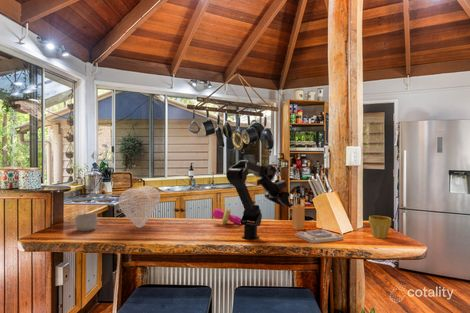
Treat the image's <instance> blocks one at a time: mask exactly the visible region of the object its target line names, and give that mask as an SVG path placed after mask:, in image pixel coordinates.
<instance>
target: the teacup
mask: <svg viewBox="0 0 470 313" xmlns="http://www.w3.org/2000/svg"><path fill="white" fill-rule="evenodd" d="M74 223H75V228H76V229H77V230H78V231H80V232H89V231H93V230H94V229H95V228H96V227H97V225H98V214H97V213H94V212H90V213H87V212H86V213H85V212H84V213H81V214H77V215H75V216H74Z"/></svg>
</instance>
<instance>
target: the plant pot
mask: <svg viewBox="0 0 470 313" xmlns="http://www.w3.org/2000/svg"><path fill="white" fill-rule="evenodd" d="M368 224H369V225H370V230H371V235H372V238H373V237H374V238H376V239H387V238H388V234H389V230H390V227H391V226H392V218H391V217H389V216H383V215H369V217H368Z"/></svg>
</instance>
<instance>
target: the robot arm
mask: <svg viewBox="0 0 470 313" xmlns="http://www.w3.org/2000/svg"><path fill="white" fill-rule="evenodd" d="M277 172H278V171H277V168H276V167H275V166H273V165H272V164H267V165H266V166H265V165H258V164H255V163H253V162H251V161H250V160H247V159H246V160H243V159H241V160H239V161H238V162H237V163H235V164H234V165H232V166H231V167H230V168H228V170H227V171H226V173H225V174H226V175H225V176H226V179H227V181H228V183H230V185H231V186H233V187H234V188H235V189H236V193H237V194H238V197H239V199H240V202H241V204H242V207H243V212H242V214H243V215H242V217H241V221H240V222H241V223H240V226H243V228H244V229H243V236H241V238H242V239H245V240H250V241H253V240H256V239H258V238H260V236H259V235H258V227H259V226H261V223H262V217H263V216H262V211H261V209H260V206H259V204H254V201H253V198H252V195H250V191H249V189H248V187H247V184H246V182H247V178H248V177H247V176H248V175H249V173H252V175H253V176H254V177H257V178H259V177H260V178H259V179H256V186H260V185H261V187H262V188H263V189H264V192H265V193H264V197H265V198H266V200H268V201H270V202H272V203H275V204H277V205H278V206H283V205H284V206H286V207H287V208H289V209H290V208H291V207H292V206H291V203H290V200H289V198H290V196H291V195H290V194H291V193H290V192H289V191H288V190H287V191H286V190H282V189H283V188H286V187H288V183H287V181H286V180H283V179H282V180H279V179H275V180H274V182H273V181H272V180H273V179H274V177H275V176H276V174H277Z"/></svg>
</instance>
